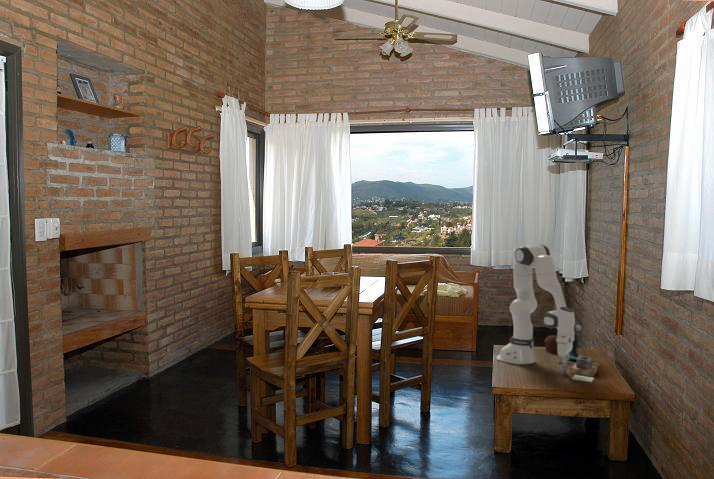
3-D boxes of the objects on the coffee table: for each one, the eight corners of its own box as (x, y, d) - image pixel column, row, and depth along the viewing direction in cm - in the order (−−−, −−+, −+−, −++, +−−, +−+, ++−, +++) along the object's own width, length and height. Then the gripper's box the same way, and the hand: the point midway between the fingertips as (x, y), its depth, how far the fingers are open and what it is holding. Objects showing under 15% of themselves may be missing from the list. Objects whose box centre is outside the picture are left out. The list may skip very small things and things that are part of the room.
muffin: (563, 354, 359) (563, 338, 358) (545, 352, 361) (545, 337, 360) (561, 349, 370) (561, 334, 369) (543, 348, 373) (543, 333, 372)
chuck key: (557, 374, 316) (557, 355, 315) (558, 373, 318) (558, 354, 317) (571, 376, 312) (571, 357, 311) (572, 375, 314) (572, 356, 313)
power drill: (586, 366, 332) (587, 324, 330) (570, 365, 333) (571, 323, 332) (578, 354, 357) (579, 315, 355) (563, 353, 359) (564, 314, 357)
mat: (571, 379, 307) (571, 378, 307) (574, 375, 314) (574, 374, 314) (591, 382, 302) (591, 381, 302) (594, 378, 308) (594, 377, 308)
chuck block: (570, 373, 318) (570, 359, 317) (575, 367, 328) (575, 354, 327) (597, 377, 310) (597, 363, 310) (600, 371, 320) (601, 358, 320)
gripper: (564, 332, 324) (563, 356, 325) (555, 339, 307) (554, 364, 307) (575, 333, 320) (575, 357, 321) (567, 341, 303) (566, 366, 304)
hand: (565, 361), depth 314 cm, fingers closed on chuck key, 3 cm apart
